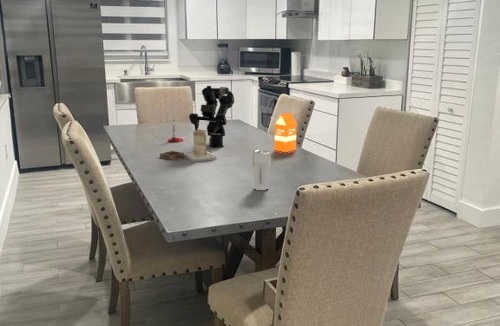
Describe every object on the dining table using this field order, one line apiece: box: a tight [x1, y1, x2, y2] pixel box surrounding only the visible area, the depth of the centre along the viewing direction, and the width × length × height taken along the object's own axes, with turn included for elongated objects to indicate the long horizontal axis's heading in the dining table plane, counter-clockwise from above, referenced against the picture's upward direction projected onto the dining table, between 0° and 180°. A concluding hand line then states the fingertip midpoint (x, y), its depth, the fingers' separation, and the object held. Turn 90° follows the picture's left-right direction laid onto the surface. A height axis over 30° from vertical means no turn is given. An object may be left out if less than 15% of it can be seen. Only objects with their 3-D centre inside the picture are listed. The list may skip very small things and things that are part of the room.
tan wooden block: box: [192, 129, 208, 158], centre depth 238 cm, size 5×5×13 cm
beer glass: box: [252, 149, 271, 191], centre depth 189 cm, size 7×7×15 cm
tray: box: [184, 150, 217, 163], centre depth 240 cm, size 12×12×2 cm
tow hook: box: [167, 119, 184, 143], centre depth 281 cm, size 8×13×9 cm
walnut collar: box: [159, 150, 185, 161], centre depth 241 cm, size 8×8×2 cm
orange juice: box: [274, 112, 297, 153], centre depth 256 cm, size 8×9×20 cm
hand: (204, 132), depth 244 cm, fingers open, 9 cm apart
